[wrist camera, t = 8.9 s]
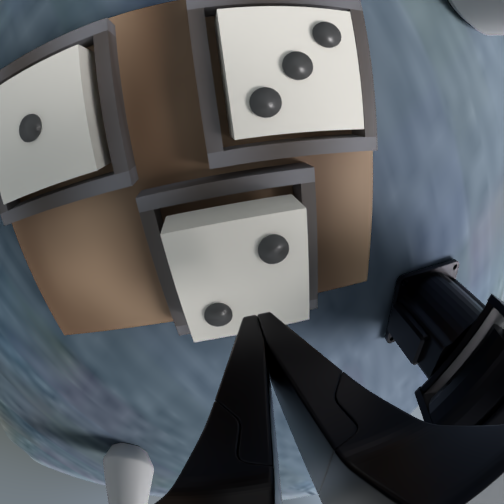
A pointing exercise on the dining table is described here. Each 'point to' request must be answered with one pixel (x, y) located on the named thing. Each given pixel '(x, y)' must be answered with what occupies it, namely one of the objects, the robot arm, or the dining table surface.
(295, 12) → the tile three
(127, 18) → the board
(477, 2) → the can
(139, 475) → the salt shaker
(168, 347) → the dining table surface
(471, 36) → the dining table surface
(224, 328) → the tile two
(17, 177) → the tile one
